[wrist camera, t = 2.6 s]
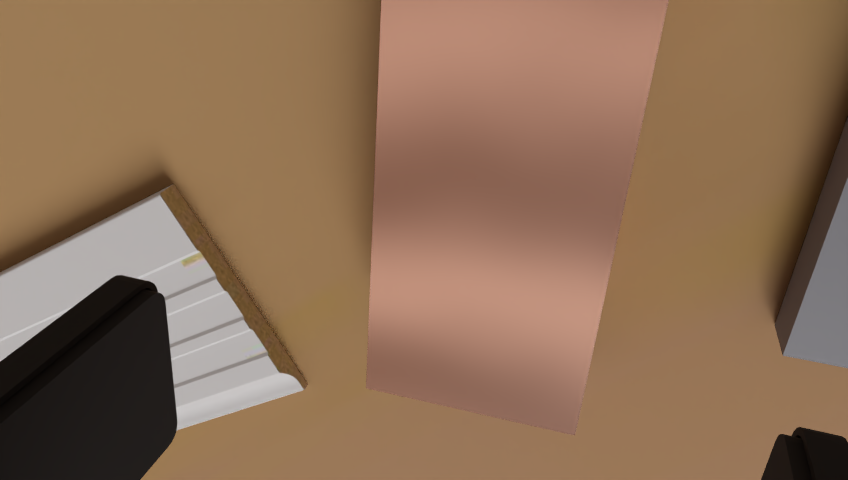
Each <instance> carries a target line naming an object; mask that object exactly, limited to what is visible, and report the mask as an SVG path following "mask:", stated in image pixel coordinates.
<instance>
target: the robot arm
mask: <svg viewBox="0 0 848 480" xmlns="http://www.w3.org/2000/svg"><path fill="white" fill-rule="evenodd" d="M176 430H177V412H176V402H175V392H174V382H173V372H172V362H171V352H170V342H169V332H168V322H167V312H166V302H165V298H164V296H163V294H161V293H158V290H157V287H156V286H155V284H154V283H152V282H150V281H146V280H141V279H137V278H132V277H128V276H124V275H116V276H114V277H112V278H111V279H109V280H108V281H107V282H105V283H104V284H103V285H101V286H100V287H99V288H97V289H96V290H95V291H93V292H92V293H91V294H89V295H88V296H87V297H85V298H84V299H83V300H81V301H80V302H79V303H78V304H76V305H75V306H74V307H72V308H71V309H70V310H68V311H67V312H66V313H64V314H63V315H62V316H60V317H59V318H58V319H56V320H55V321H54V322H52V323H51V324H50V325H48V326H47V327H46V328H44V329H43V330H42V331H40V332H39V333H38V334H36V335H35V336H34V337H32V338H31V339H30V340H28V341H27V342H26V343H24V344H23V345H22V346H20V347H19V348H18V349H16V350H15V351H14V352H12V353H11V354H10V355H8V356H7V357H6V358H4V359H3V360H2V361H0V480H140V479H141V478H142V477H143V476H144V475H145V473H146V472H147V471H148V470H149V469H150V467H151V466H152V465H153V464H154V463H155V462H156V460H157V459H158V458H159V457H160V456H161V455H162V453H163V452H164V451H165V450H166V449H167V447H168V446H169V445H170V444H171V442H172V440H173V438H174V436H175V433H176ZM761 480H848V442H847V440H846V439H845V438H844V437H842V436H838V435H833V434H829V433H824V432H820V431H815V430H811V429H806V428H802V427H799V428H796V430H795V431H794V432H793V434H792V436H788V435H784V434H780V435H779V436H778V437H777V439H776V441H775V444H774V446H773V449H772V452H771V455H770V457H769V460H768V463H767V465H766V468H765V471H764V473H763V476H762V479H761Z"/></svg>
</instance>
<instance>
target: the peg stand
mask: <svg viewBox="0 0 848 480" xmlns="http://www.w3.org/2000/svg"><path fill="white" fill-rule="evenodd" d="M775 328H776V332H777V336H778V339H779V343H780V347H781V351H782V354H783V356H788V357H793V358H798V359H804V360H809V361H814V362H819V363H824V364H829V365H834V366H839V367H845V368H848V117H847V120H846V123H845V126H844V128H843V131H842V134H841V137H840V140H839V143H838V146H837V148H836V151H835V154H834V157H833V160H832V163H831V166H830V168H829V171H828V174H827V177H826V180H825V183H824V186H823V188H822V191H821V194H820V197H819V200H818V203H817V206H816V208H815V211H814V214H813V217H812V220H811V223H810V226H809V228H808V231H807V234H806V237H805V240H804V243H803V246H802V248H801V251H800V254H799V257H798V260H797V263H796V266H795V268H794V271H793V274H792V277H791V280H790V283H789V286H788V288H787V291H786V294H785V297H784V300H783V303H782V306H781V308H780V311H779V314H778V317H777V320H776V323H775Z"/></svg>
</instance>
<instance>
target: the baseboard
mask: <svg viewBox="0 0 848 480" xmlns="http://www.w3.org/2000/svg"><path fill="white" fill-rule="evenodd" d="M116 275H124V276H128V277H132V278H137V279H141V280H146V281H150V282H152V283H154V284H155V286H156V287H157V290H158V293H161V294H163V296H164V298H165V302H166V312H167V322H168V332H169V342H170V352H171V362H172V372H173V382H174V392H175V402H176V412H177V430H179V429H182V428H185V427H188V426H191V425H195V424H198V423H201V422H204V421H207V420H210V419H213V418H217V417H220V416H223V415H226V414H229V413H232V412H236V411H239V410H242V409H245V408H248V407H251V406H254V405H258V404H261V403H264V402H267V401H270V400H273V399H276V398H280V397H283V396H286V395H289V394H292V393H295V392H299V391H302V390H305V388H306V386H307V385H308V384H307V382H306V381H305V379H304V378H303V376H302V375H301V373H300V372H299V370H298V369H297V367H296V366H295V364H294V363H293V361H292V360H291V358H290V357H289V355H288V354H287V352H286V351H285V349H284V348H283V346H282V345H281V343H280V342H279V341H278V339H277V338H276V336H275V335H274V333H273V332H272V330H271V329H270V327H269V326H268V324H267V323H266V321H265V320H264V318H263V317H262V315H261V314H260V312H259V311H258V309H257V308H256V306H255V305H254V303H253V302H252V300H251V299H250V297H249V296H248V294H247V293H246V291H245V290H244V288H243V287H242V285H241V284H240V282H239V281H238V279H237V278H236V276H235V275H234V273H233V272H232V270H231V269H230V267H229V266H228V264H227V263H226V261H225V260H224V258H223V257H222V255H221V254H220V252H219V251H218V249H217V248H216V246H215V245H214V243H213V242H212V240H211V239H210V237H209V236H208V234H207V233H206V231H205V230H204V228H203V227H202V225H201V224H200V222H199V221H198V219H197V218H196V216H195V215H194V213H193V212H192V210H191V209H190V207H189V206H188V204H187V203H186V202H185V200H184V199H183V197H182V196H181V194H180V193H179V191H178V190H177V188H176V187H175V185H174V184H172V185H170V186H168V187H167V188H165V189H163V190H161V191H159V192H157V193H155V194H153V195H151V196H149V197H147V198H145V199H143V200H141V201H139V202H137V203H135V204H133V205H131V206H129V207H127V208H125V209H123V210H121V211H119V212H118V213H116V214H114V215H112V216H110V217H108V218H106V219H104V220H102V221H100V222H98V223H96V224H94V225H92V226H90V227H88V228H86V229H84V230H82V231H80V232H78V233H76V234H74V235H72V236H71V237H69V238H67V239H65V240H63V241H61V242H59V243H57V244H55V245H53V246H51V247H49V248H47V249H45V250H43V251H41V252H39V253H37V254H35V255H33V256H31V257H29V258H27V259H25V260H24V261H22V262H20V263H18V264H16V265H14V266H12V267H10V268H8V269H6V270H4V271H2V272H0V361H2V360H3V359H4V358H6V357H7V356H8V355H10V354H11V353H12V352H14V351H15V350H16V349H18V348H19V347H20V346H22V345H23V344H24V343H26V342H27V341H28V340H30V339H31V338H32V337H34V336H35V335H36V334H38V333H39V332H40V331H42V330H43V329H44V328H46V327H47V326H48V325H50V324H51V323H52V322H54V321H55V320H56V319H58V318H59V317H60V316H62V315H63V314H64V313H66V312H67V311H68V310H70V309H71V308H72V307H74V306H75V305H76V304H78V303H79V302H80V301H81V300H83V299H84V298H85V297H87V296H88V295H89V294H91V293H92V292H93V291H95V290H96V289H97V288H99V287H100V286H101V285H103V284H104V283H105V282H107V281H108V280H109V279H111V278H112V277H114V276H116Z"/></svg>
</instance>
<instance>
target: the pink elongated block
mask: <svg viewBox="0 0 848 480" xmlns="http://www.w3.org/2000/svg"><path fill="white" fill-rule="evenodd" d="M668 1H669V0H381V23H380V48H379V74H378V99H377V125H376V150H375V176H374V201H373V227H372V252H371V278H370V303H369V329H368V354H367V379H366V388H368V389H372V390H377V391H381V392H386V393H390V394H394V395H399V396H403V397H408V398H412V399H416V400H421V401H425V402H430V403H434V404H439V405H443V406H447V407H452V408H456V409H461V410H465V411H469V412H474V413H478V414H483V415H487V416H491V417H496V418H500V419H505V420H509V421H513V422H518V423H522V424H527V425H531V426H535V427H540V428H544V429H549V430H553V431H557V432H562V433H566V434H571V435H575V433H576V428H577V424H578V419H579V414H580V410H581V405H582V400H583V396H584V391H585V387H586V382H587V377H588V373H589V368H590V363H591V359H592V354H593V349H594V345H595V340H596V335H597V331H598V326H599V322H600V317H601V312H602V308H603V303H604V298H605V294H606V289H607V284H608V280H609V275H610V270H611V266H612V261H613V257H614V252H615V247H616V243H617V238H618V233H619V229H620V224H621V219H622V215H623V210H624V205H625V201H626V196H627V192H628V187H629V182H630V178H631V173H632V168H633V164H634V159H635V154H636V150H637V145H638V140H639V136H640V131H641V126H642V122H643V117H644V113H645V108H646V103H647V99H648V94H649V89H650V85H651V80H652V75H653V71H654V66H655V61H656V57H657V52H658V48H659V43H660V38H661V34H662V29H663V24H664V20H665V15H666V10H667V6H668Z"/></svg>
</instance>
